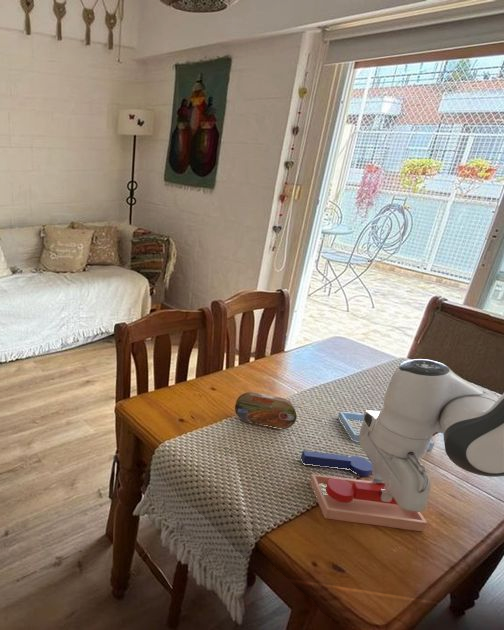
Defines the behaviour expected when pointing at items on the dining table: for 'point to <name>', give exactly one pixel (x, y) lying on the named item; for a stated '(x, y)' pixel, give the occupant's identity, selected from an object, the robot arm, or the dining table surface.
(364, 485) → the red spoon
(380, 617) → the dining table surface
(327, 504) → the pink tray
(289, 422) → the tin
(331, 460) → the blue spoon
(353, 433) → the blue tray
